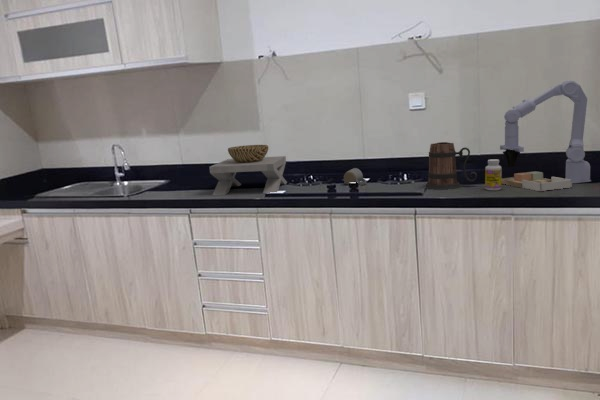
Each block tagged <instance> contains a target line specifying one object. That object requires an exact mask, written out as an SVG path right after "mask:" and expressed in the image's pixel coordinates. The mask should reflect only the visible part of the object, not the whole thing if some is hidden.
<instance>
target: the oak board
mask: <svg viewBox="0 0 600 400" xmlns="http://www.w3.org/2000/svg"><path fill="white" fill-rule="evenodd" d="M531 181H532V182H537V183H547V182H551V178H546V177H545V178H544V177H543V179H542V180H531ZM505 184H506V185H505ZM501 185H505V186H510V185H511V186H510V187H514V186H515V188H519V187H520V189H523V188H522V182H520V181H515V180H514V176H512V177H511V176H510V177H504V178H503V177H502V184H501Z"/></svg>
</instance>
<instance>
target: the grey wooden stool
mask: <svg viewBox="0 0 600 400" xmlns="http://www.w3.org/2000/svg"><path fill="white" fill-rule="evenodd" d="M268 151H269V145H267V144H250V145H249V144H248V145H237V146H231V147H228V148H227V153H228V155H229V156H230V157H231V158H226V159H225V160H222V161H220V162H217V163H215V164H213V165H211V166H208V167H209V174H210V175H211V176H213V178H215V179H216V180H217V181H218V182H217V184H216V186H215V188H214V190H213V193H212V196H225V195H227V194H228V193H229V192H230V189H231V187H232V188H233V187H240V186H242V183H240V182H239V180H238V179H236V175H237V173H243V172H246V173H248V172H261V173H262V174H263V175H264V176H265V178H266V182H265V186H264V188H263V192H262V194H271V193H270V192H276V193H278V191H279V189H280V186H281V185H283V186H285V185H287V183H288V181H287V180H286V179H285V178H284V176H283V175H284V171H285V169H286V164H287V157H286V155H285V156H284V155H283V156H282V155H281V156H267V157H266V155H267V154H268Z"/></svg>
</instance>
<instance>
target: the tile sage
mask: <svg viewBox="0 0 600 400" xmlns="http://www.w3.org/2000/svg"><path fill="white" fill-rule="evenodd" d="M525 173H529V174H531V180H542V179H543V178H544V172H542V171H527V172H525Z"/></svg>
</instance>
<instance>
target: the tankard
mask: <svg viewBox="0 0 600 400" xmlns="http://www.w3.org/2000/svg"><path fill="white" fill-rule="evenodd" d="M464 150H466V151H467V156H466V158H465V159H464V157H465V156H463V151H464ZM457 155H458V156H459V157H460V158H461V159H464V162H463V166H462V167H463V170H462V171H463V175H464V178H465V179H466V180H467V181H468V182H474V181H476V180H477V179H478V173H477V172H476V171H471V172H470V174H469V175H470V176H468V175H467V171H466V164H467V162H468V160H469V158H470V155H471V151H470V149H469V148H468V147H465V146H464V147H462V148H461V149H460V150H459V151H456V149H455V144H454V142H448V141H447V142H446V141H444V142H443V141H441V142H435V143H430V145H429V152H428V175H427V177H428V181H427V182H426V183H425V185H424V187H425V186H426V188H428V189H427V190H431V189H433V191H449V190H448V189H451V190H457V189H460V188H462V185H461V184H460V182H459V181H458V172H457V161H456V160H457V159H456V157H457ZM472 175H473V176H472ZM469 177H471V178H469ZM426 188H425V189H426Z"/></svg>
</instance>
